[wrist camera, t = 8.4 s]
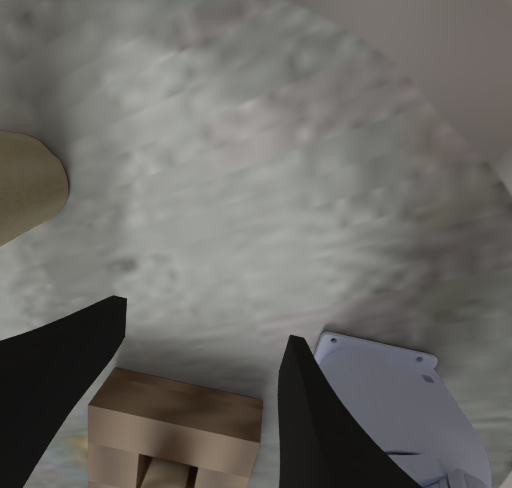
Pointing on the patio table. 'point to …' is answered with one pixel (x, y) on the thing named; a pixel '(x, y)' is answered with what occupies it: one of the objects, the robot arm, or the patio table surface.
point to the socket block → (170, 432)
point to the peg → (166, 474)
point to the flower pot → (28, 184)
